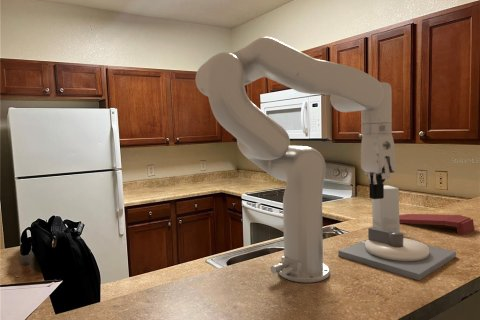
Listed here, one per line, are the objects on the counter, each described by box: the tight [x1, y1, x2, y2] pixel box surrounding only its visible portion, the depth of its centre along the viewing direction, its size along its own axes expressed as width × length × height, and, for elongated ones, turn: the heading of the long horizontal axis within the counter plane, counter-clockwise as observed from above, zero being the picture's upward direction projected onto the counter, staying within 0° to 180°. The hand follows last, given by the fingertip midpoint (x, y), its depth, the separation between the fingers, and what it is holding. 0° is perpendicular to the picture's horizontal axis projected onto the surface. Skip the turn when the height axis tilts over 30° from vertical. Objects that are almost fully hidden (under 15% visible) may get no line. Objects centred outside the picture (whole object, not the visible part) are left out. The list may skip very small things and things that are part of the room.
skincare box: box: [371, 184, 401, 232], centre depth 117 cm, size 8×7×16 cm
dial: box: [365, 226, 429, 261], centre depth 94 cm, size 16×16×5 cm
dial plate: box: [338, 238, 457, 281], centre depth 94 cm, size 22×22×2 cm
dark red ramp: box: [399, 213, 475, 236], centre depth 124 cm, size 12×5×25 cm
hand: (376, 198), depth 92 cm, fingers closed
